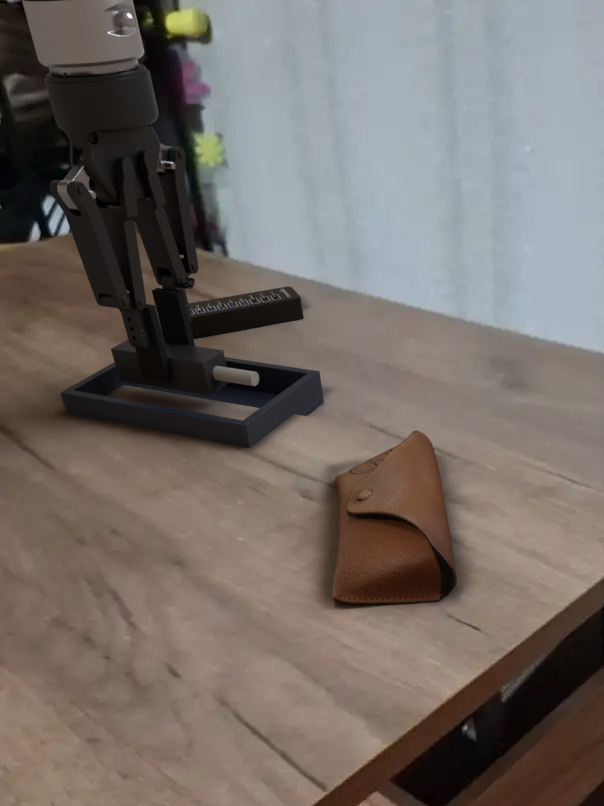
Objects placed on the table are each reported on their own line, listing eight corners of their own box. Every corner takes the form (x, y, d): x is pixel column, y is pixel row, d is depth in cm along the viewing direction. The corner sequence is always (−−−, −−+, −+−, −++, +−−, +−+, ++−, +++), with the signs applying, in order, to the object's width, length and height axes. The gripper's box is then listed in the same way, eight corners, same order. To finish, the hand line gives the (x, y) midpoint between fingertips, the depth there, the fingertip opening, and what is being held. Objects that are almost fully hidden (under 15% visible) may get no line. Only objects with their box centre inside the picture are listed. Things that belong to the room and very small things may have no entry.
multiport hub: (164, 329, 103) (159, 307, 102) (294, 305, 108) (290, 285, 106) (171, 342, 100) (166, 321, 99) (304, 318, 104) (301, 297, 103)
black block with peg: (119, 380, 86) (110, 348, 84) (141, 368, 88) (132, 336, 86) (248, 402, 81) (241, 368, 79) (268, 388, 83) (261, 355, 81)
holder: (70, 423, 85) (59, 392, 84) (153, 374, 94) (145, 344, 92) (252, 458, 79) (245, 425, 77) (324, 402, 87) (319, 370, 85)
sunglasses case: (328, 472, 75) (363, 401, 72) (407, 504, 78) (444, 437, 75) (329, 606, 62) (373, 525, 58) (426, 639, 64) (473, 563, 61)
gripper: (56, 85, 63) (146, 414, 78) (202, 50, 74) (257, 343, 89) (-28, 82, 66) (75, 401, 80) (126, 49, 77) (192, 334, 92)
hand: (171, 370), depth 85 cm, fingers closed on black block with peg, 3 cm apart
